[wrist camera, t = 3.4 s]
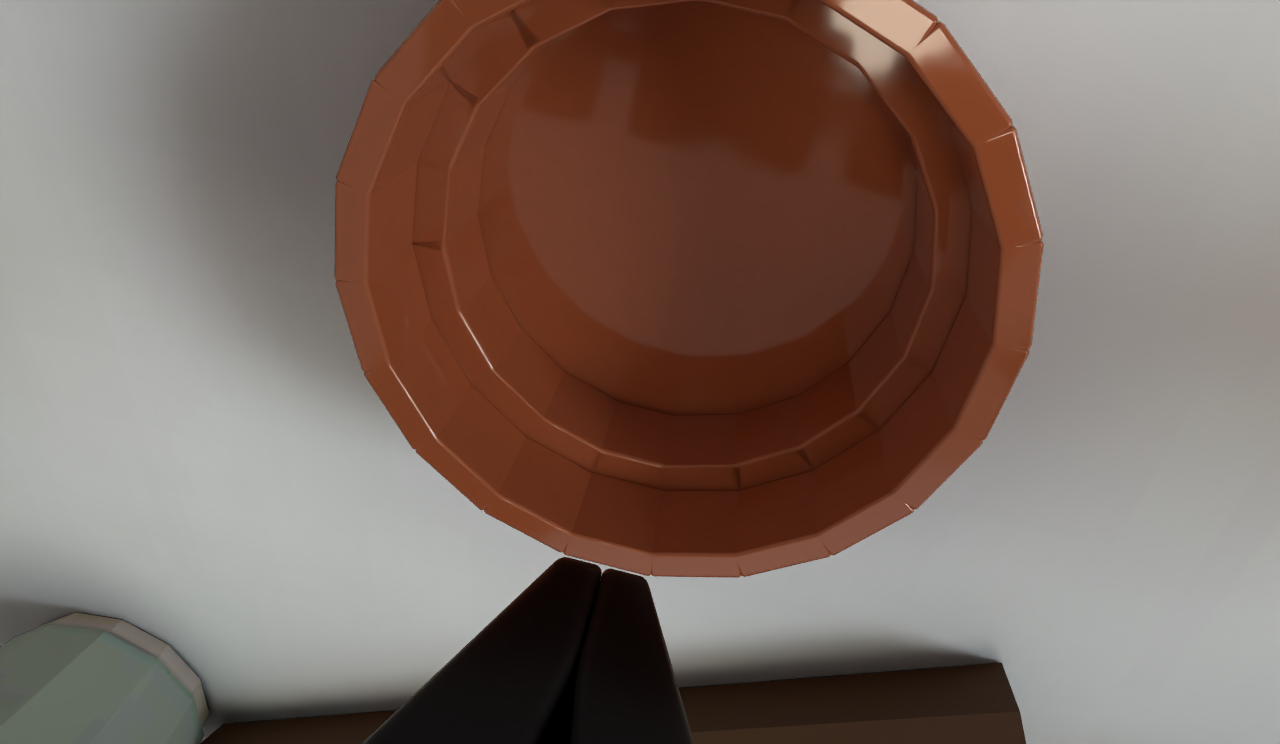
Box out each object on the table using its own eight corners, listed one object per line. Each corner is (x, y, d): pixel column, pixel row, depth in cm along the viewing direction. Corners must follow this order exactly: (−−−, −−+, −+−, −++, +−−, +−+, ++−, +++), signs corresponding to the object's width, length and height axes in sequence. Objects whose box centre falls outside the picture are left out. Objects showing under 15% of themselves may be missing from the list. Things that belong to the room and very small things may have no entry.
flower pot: (865, 493, 20) (887, 638, 16) (418, 381, 20) (330, 495, 16) (1079, -4, 14) (1195, 28, 10) (457, -149, 15) (337, -171, 11)
